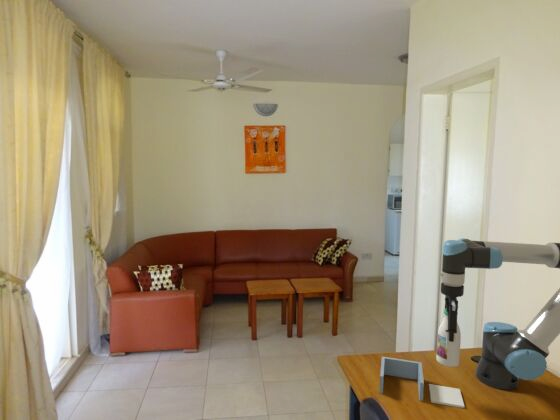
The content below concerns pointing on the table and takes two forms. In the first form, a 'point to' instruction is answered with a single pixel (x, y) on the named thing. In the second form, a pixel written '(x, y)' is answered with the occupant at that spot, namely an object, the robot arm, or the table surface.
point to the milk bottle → (443, 354)
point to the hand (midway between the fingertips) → (448, 343)
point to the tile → (446, 395)
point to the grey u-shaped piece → (402, 372)
